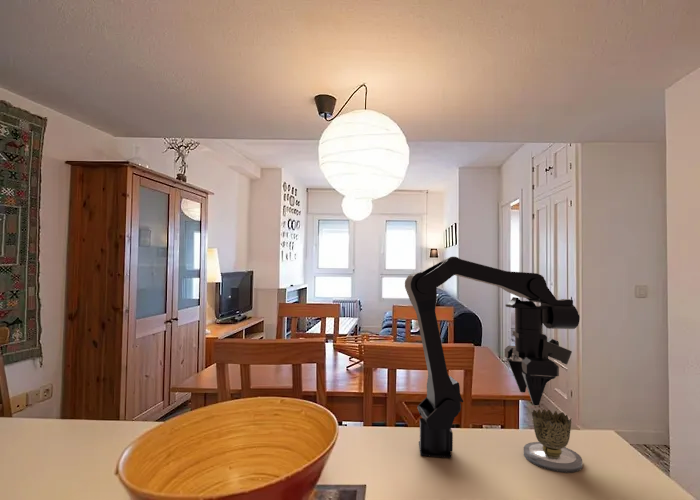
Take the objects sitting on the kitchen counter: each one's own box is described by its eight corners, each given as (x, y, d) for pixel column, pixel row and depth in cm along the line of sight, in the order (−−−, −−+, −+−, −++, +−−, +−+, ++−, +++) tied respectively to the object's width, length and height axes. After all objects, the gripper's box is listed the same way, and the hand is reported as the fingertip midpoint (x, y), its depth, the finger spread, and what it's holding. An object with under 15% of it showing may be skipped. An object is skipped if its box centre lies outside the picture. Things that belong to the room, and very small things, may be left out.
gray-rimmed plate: (534, 470, 76) (534, 463, 76) (516, 445, 87) (516, 440, 87) (593, 474, 74) (592, 467, 74) (567, 449, 85) (567, 443, 85)
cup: (578, 463, 76) (577, 422, 76) (538, 459, 77) (537, 419, 78) (564, 447, 83) (563, 410, 84) (528, 444, 85) (528, 407, 85)
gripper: (586, 336, 76) (587, 416, 75) (550, 324, 94) (551, 388, 93) (527, 333, 78) (527, 411, 77) (503, 322, 96) (503, 385, 95)
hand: (529, 398), depth 85 cm, fingers open, 9 cm apart
